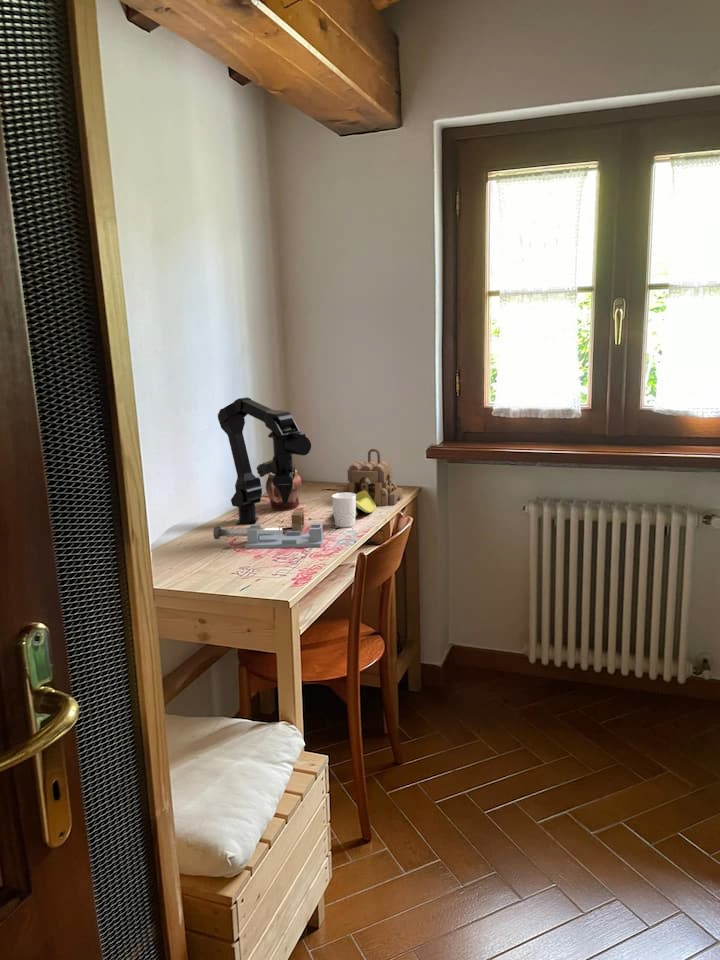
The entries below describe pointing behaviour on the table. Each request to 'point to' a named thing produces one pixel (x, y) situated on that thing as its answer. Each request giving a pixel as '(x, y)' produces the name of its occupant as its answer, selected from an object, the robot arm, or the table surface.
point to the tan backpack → (373, 481)
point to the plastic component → (364, 502)
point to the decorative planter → (276, 496)
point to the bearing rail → (286, 538)
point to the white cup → (344, 509)
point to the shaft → (245, 532)
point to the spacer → (297, 520)
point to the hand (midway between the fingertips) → (286, 500)
